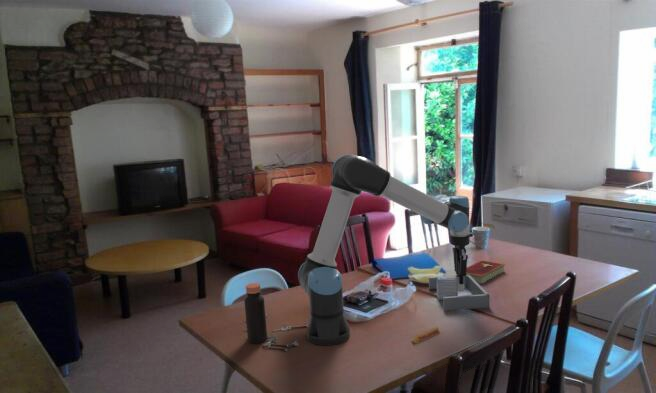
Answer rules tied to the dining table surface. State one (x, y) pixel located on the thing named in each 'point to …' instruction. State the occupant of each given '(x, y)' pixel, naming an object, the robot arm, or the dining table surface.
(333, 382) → the dining table surface
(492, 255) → the dining table surface
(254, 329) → the bottle
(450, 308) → the open box
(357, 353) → the dining table surface
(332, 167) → the robot arm
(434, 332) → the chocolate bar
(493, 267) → the hardcover book
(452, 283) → the medicine box
